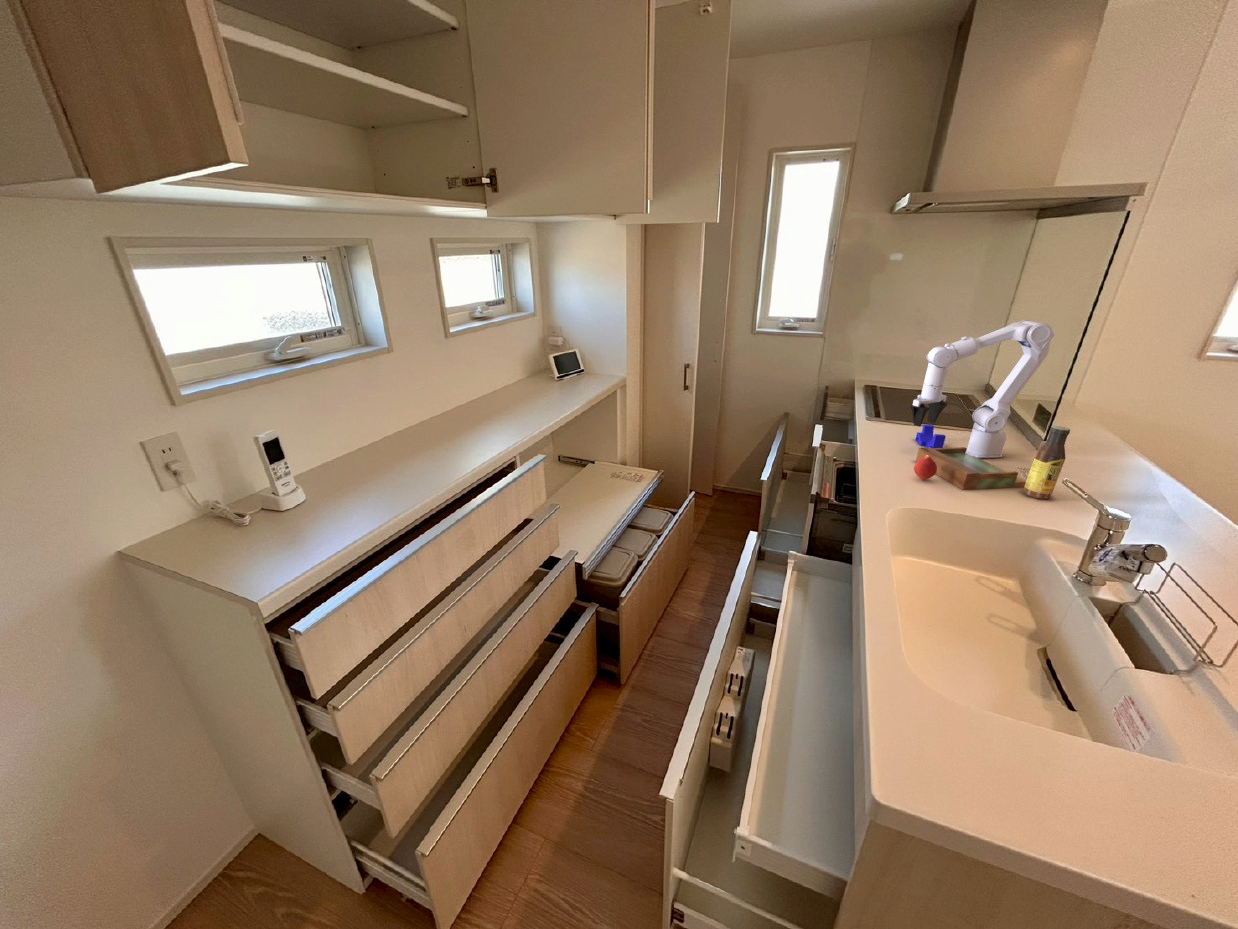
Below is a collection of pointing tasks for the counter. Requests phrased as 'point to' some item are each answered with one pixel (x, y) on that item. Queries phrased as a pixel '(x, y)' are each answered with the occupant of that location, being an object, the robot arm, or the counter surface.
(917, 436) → the cable clip
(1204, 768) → the counter surface
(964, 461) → the wooden serving tray
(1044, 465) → the sauce bottle
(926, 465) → the onion
